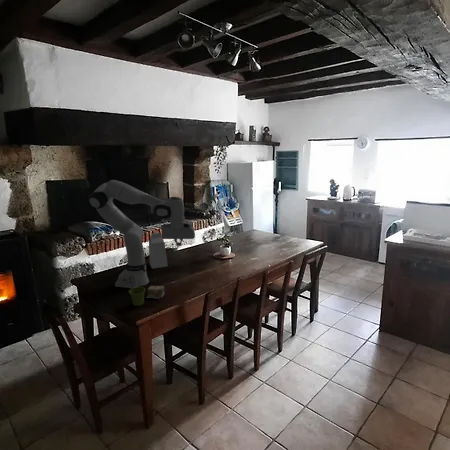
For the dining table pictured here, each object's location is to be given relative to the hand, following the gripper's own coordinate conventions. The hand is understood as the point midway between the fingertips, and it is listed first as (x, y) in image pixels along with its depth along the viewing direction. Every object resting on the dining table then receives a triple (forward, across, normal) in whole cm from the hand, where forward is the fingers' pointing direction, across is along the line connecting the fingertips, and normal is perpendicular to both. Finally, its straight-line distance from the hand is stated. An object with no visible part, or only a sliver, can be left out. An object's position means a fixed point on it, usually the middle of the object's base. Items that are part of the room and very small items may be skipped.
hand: (179, 245), depth 201 cm
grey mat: (+31, -16, -6) cm, 35 cm away
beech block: (+28, -10, -6) cm, 30 cm away
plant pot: (+31, -22, -17) cm, 42 cm away
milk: (+31, -29, +48) cm, 64 cm away
